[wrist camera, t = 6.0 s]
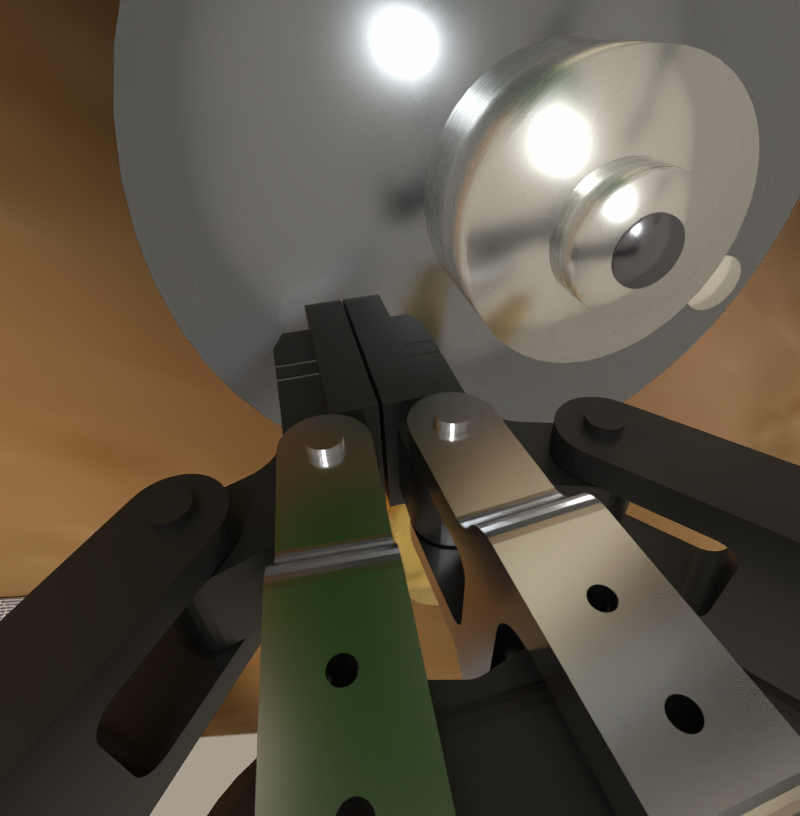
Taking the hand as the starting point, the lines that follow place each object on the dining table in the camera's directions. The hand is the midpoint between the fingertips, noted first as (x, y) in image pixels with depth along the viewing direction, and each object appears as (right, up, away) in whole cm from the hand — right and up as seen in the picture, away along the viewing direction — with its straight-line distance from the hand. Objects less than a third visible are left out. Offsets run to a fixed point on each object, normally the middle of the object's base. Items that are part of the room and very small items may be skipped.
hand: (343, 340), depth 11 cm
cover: (+5, +5, +4) cm, 8 cm away
